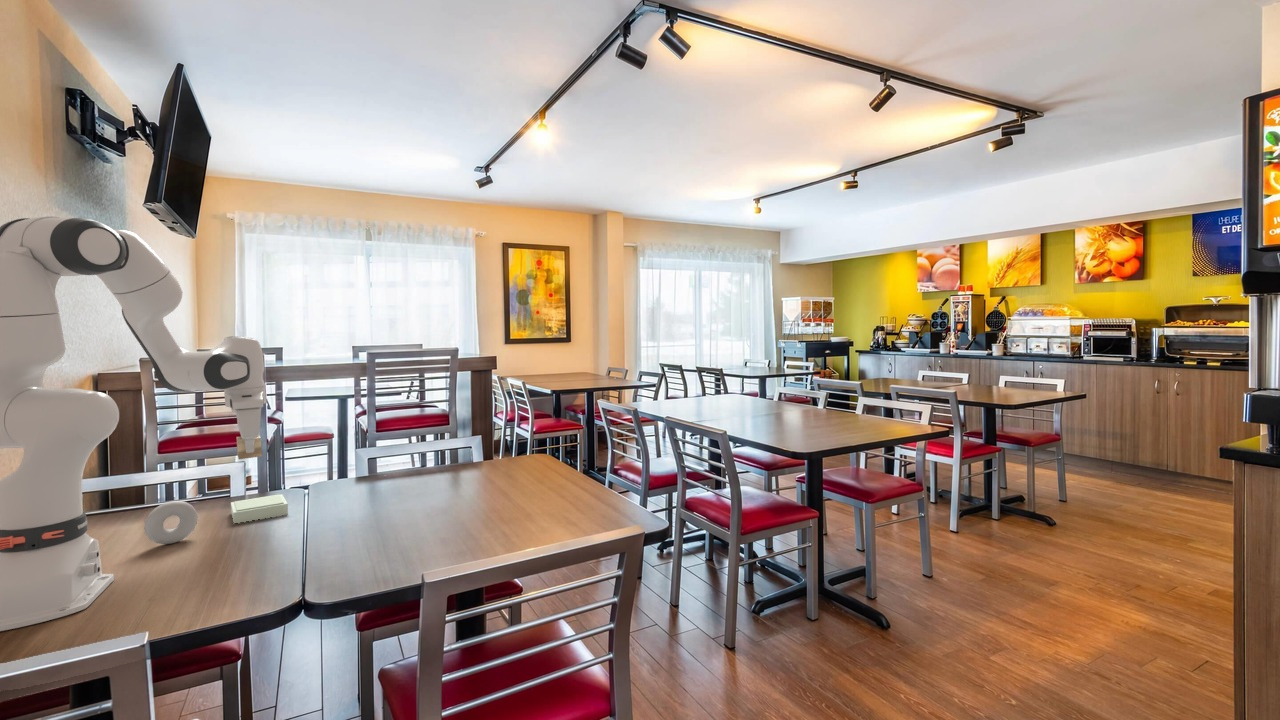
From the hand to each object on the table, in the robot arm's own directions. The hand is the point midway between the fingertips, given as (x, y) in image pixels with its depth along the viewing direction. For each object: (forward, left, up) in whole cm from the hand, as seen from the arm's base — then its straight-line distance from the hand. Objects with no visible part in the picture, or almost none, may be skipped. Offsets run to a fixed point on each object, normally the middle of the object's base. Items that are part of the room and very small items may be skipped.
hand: (249, 450), depth 148 cm
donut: (-8, +16, -19) cm, 26 cm away
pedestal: (+5, -2, -19) cm, 19 cm away
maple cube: (0, 0, -2) cm, 2 cm away
